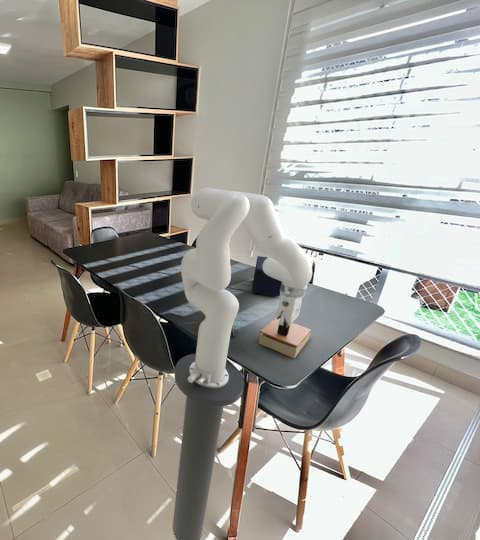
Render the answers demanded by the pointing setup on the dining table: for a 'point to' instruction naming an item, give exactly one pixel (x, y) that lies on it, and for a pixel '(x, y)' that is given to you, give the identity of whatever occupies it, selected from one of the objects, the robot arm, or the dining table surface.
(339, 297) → the dining table surface
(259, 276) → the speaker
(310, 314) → the dining table surface
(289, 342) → the cover
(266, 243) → the robot arm
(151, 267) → the dining table surface
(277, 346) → the open wooden box
